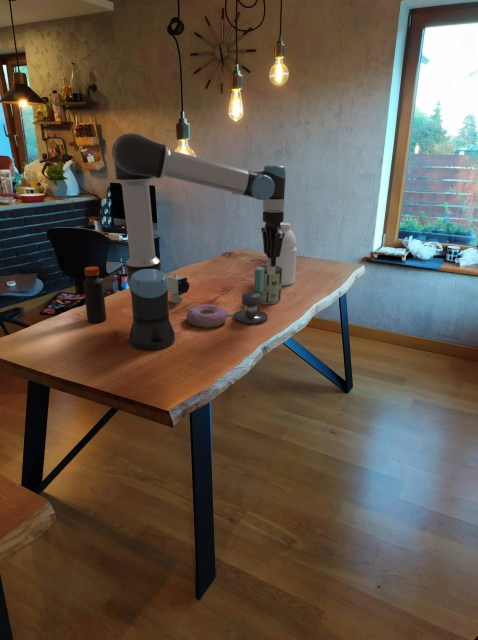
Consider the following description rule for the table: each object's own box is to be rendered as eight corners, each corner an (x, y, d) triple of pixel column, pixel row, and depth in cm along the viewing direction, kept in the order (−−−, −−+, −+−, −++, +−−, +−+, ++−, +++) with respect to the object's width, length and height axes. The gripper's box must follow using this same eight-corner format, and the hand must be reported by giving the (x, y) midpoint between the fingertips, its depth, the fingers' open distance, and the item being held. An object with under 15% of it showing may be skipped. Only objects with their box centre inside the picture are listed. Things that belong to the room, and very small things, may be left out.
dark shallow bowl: (260, 326, 166) (261, 311, 164) (219, 319, 172) (219, 304, 170) (272, 315, 177) (272, 300, 175) (233, 308, 183) (233, 294, 181)
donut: (186, 315, 177) (186, 302, 175) (225, 314, 179) (225, 302, 177) (187, 330, 163) (186, 317, 161) (229, 329, 164) (229, 316, 163)
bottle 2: (265, 277, 226) (268, 220, 216) (293, 278, 226) (297, 221, 216) (266, 285, 213) (268, 225, 203) (295, 286, 213) (300, 226, 203)
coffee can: (266, 294, 201) (268, 263, 196) (285, 300, 194) (287, 268, 189) (251, 300, 194) (252, 268, 189) (270, 306, 187) (271, 273, 182)
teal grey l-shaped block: (256, 307, 168) (257, 277, 163) (238, 304, 170) (239, 274, 166) (268, 296, 179) (270, 268, 175) (252, 293, 182) (253, 266, 177)
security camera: (182, 306, 185) (181, 278, 180) (162, 300, 191) (160, 272, 187) (191, 303, 189) (191, 275, 185) (171, 297, 196) (170, 270, 191)
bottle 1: (86, 324, 166) (80, 271, 158) (88, 317, 172) (82, 266, 165) (105, 323, 167) (100, 270, 160) (107, 316, 173) (102, 265, 166)
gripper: (292, 212, 159) (288, 277, 168) (273, 207, 170) (270, 268, 178) (273, 213, 156) (271, 279, 164) (255, 208, 166) (254, 271, 175)
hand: (271, 274), depth 171 cm, fingers closed
